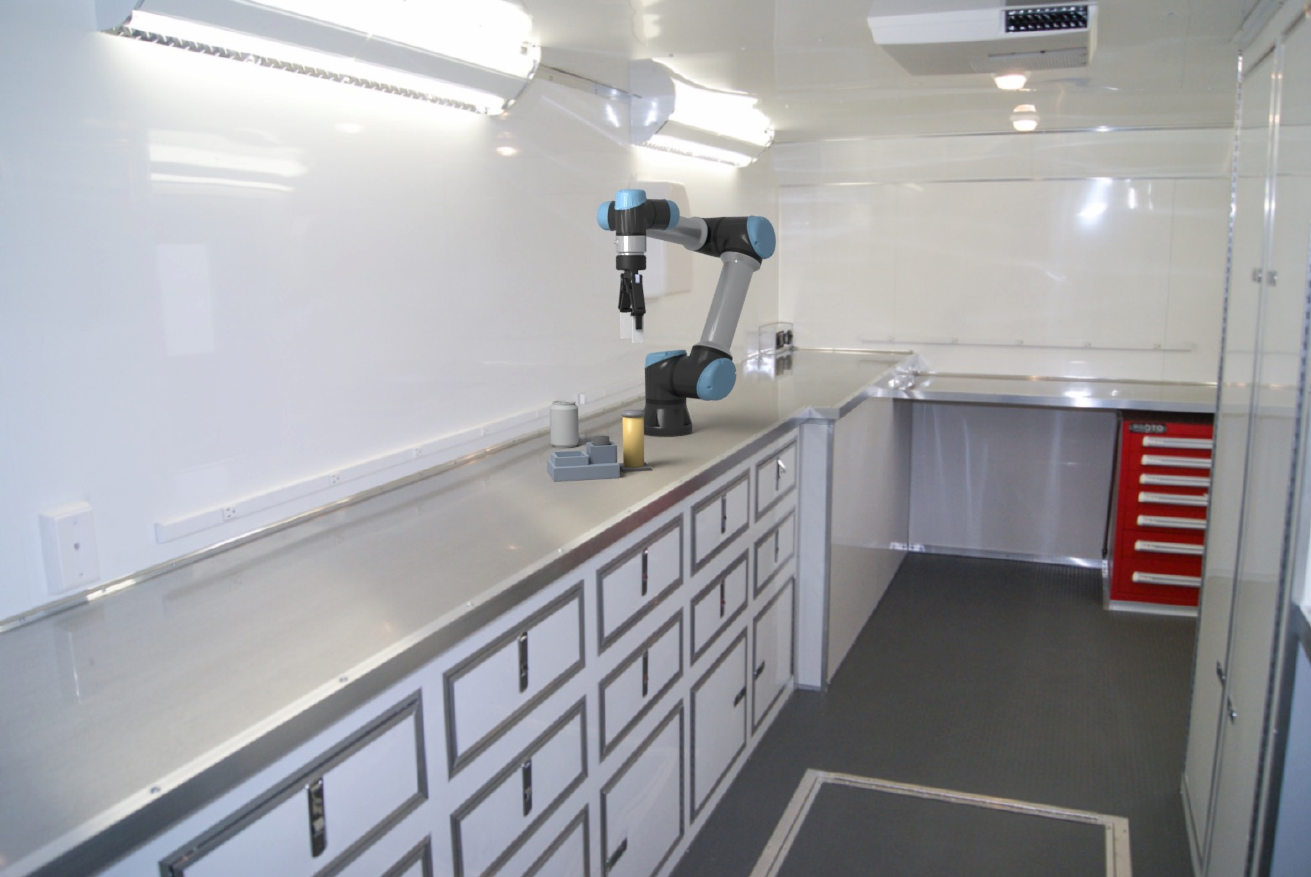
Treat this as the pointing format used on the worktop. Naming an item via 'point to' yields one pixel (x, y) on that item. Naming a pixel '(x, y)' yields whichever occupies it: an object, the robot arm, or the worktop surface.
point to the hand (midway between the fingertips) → (631, 340)
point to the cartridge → (633, 438)
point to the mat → (628, 469)
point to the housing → (584, 463)
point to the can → (564, 424)
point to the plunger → (601, 440)
